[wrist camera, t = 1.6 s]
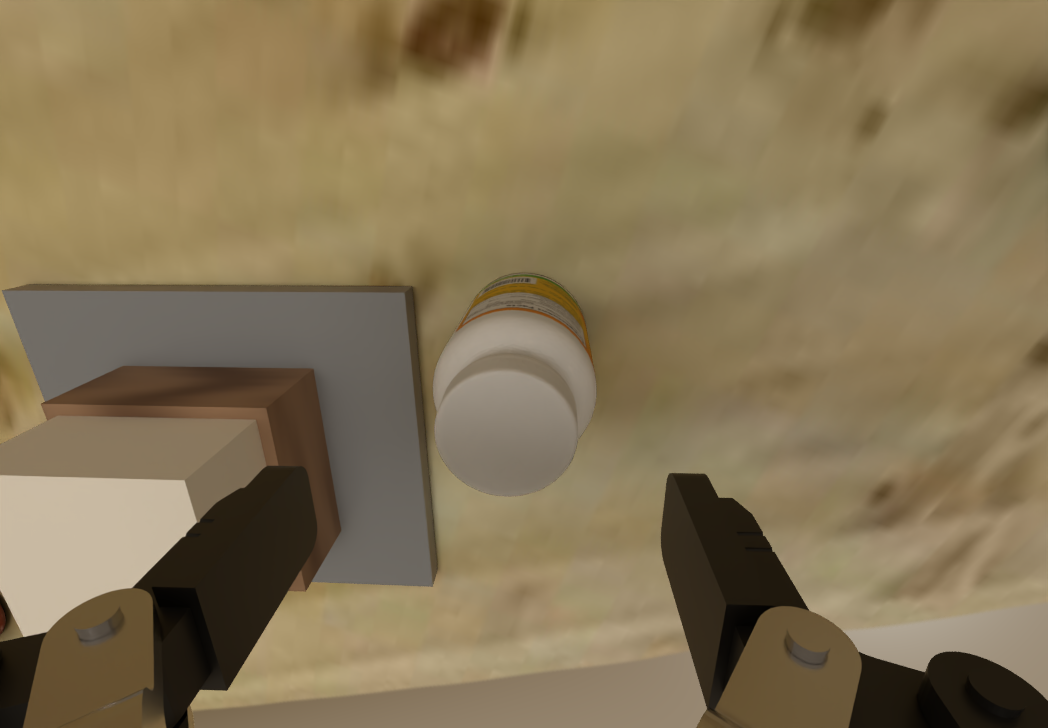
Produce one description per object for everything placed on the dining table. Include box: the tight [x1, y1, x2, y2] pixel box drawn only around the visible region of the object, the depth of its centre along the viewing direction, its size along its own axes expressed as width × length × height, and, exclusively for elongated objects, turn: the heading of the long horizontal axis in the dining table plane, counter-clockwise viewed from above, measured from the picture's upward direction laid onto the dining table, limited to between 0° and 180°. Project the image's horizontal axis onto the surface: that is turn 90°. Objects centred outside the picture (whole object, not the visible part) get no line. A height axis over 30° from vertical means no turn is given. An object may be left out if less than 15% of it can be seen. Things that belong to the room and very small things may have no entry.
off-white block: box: [0, 416, 266, 637], centre depth 19 cm, size 8×8×4 cm
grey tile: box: [2, 285, 438, 587], centre depth 25 cm, size 18×16×1 cm
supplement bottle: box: [433, 273, 596, 496], centre depth 18 cm, size 5×5×10 cm
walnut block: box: [41, 366, 341, 591], centre depth 23 cm, size 9×9×4 cm
